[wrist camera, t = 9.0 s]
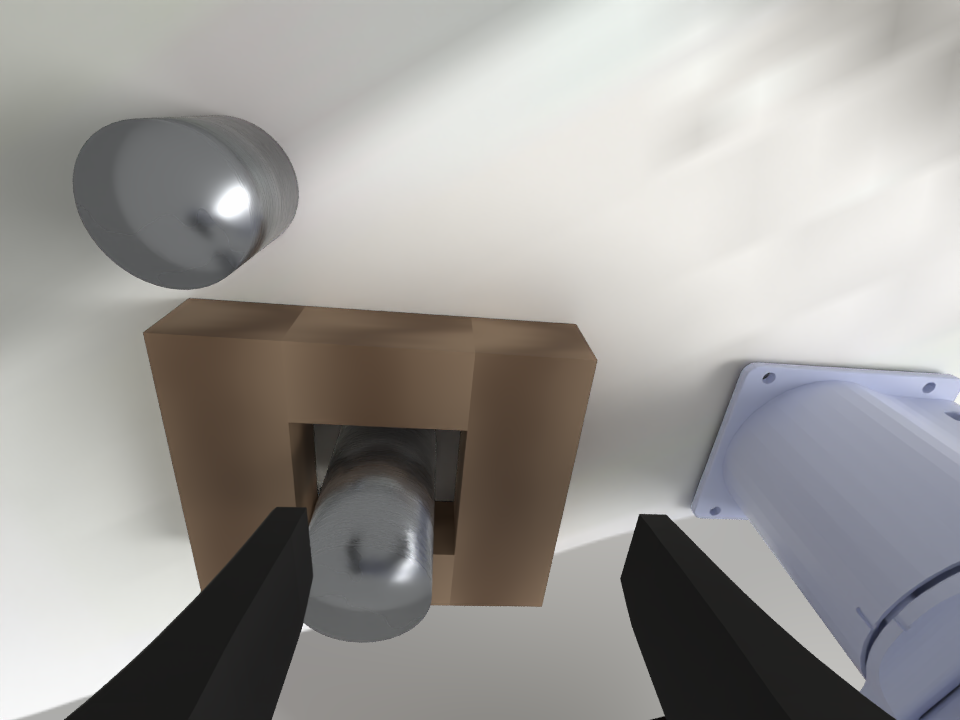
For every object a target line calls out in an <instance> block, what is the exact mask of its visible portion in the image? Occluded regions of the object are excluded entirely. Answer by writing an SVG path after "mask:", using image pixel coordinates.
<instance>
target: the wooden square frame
mask: <svg viewBox="0 0 960 720" xmlns="http://www.w3.org/2000/svg"><path fill="white" fill-rule="evenodd" d="M143 335H144V339H145V344H146V348H147V353H148V357H149V362H150V366H151V370H152V375H153V379H154V384H155V388H156V393H157V397H158V402H159V406H160V410H161V415H162V419H163V424H164V428H165V433H166V437H167V442H168V446H169V450H170V455H171V459H172V464H173V468H174V473H175V477H176V482H177V486H178V490H179V495H180V499H181V504H182V508H183V513H184V517H185V522H186V526H187V530H188V535H189V539H190V544H191V548H192V553H193V557H194V562H195V566H196V570H197V575H198V579H199V584H200V588H201V592H202V591H203V589H204V588H205V587H206V586H207V585H208V584H209V583H210V582H211V581H212V580H213V578H214V577H215V576H216V575H217V574H218V573H219V572H220V571H221V570H222V569H223V568H224V566H225V565H226V564H227V563H228V562H229V561H230V560H231V559H232V557H233V556H234V555H235V554H236V553H237V552H238V551H239V549H240V548H241V547H242V546H243V545H244V544H245V542H246V541H247V540H248V539H249V538H250V537H251V535H252V534H253V533H254V532H255V531H256V529H257V528H258V527H259V526H260V525H261V523H262V522H263V521H264V520H265V518H266V517H267V516H268V515H269V514H270V512H271V511H272V510H273V509H275V508H276V507H307V517H308V527H309V525H310V522H311V519H312V516H313V513H314V510H315V506H316V503H317V500H318V492H317V476H316V461H315V445H314V430H313V424H331V425H353V426H375V427H397V428H419V429H441V430H461V431H460V442H459V452H458V463H457V473H456V484H455V495H454V502H439V501H435V507H434V541H433V575H432V600H431V605H455V606H535V607H541V606H542V603H543V599H544V595H545V590H546V586H547V581H548V577H549V572H550V568H551V564H552V559H553V555H554V550H555V546H556V541H557V537H558V533H559V528H560V524H561V519H562V515H563V510H564V506H565V501H566V497H567V493H568V488H569V484H570V479H571V475H572V470H573V466H574V462H575V457H576V453H577V448H578V444H579V439H580V435H581V431H582V426H583V422H584V417H585V413H586V408H587V404H588V399H589V395H590V391H591V386H592V382H593V377H594V373H595V368H596V364H597V359H596V357H595V355H594V354H593V352H592V350H591V349H590V347H589V345H588V344H587V342H586V340H585V338H584V337H583V335H582V333H581V332H580V330H579V328H578V327H577V325H576V324H563V323H548V322H533V321H518V320H503V319H488V318H474V317H459V316H444V315H429V314H414V313H400V312H385V311H370V310H355V309H340V308H325V307H311V306H296V305H281V304H266V303H251V302H236V301H222V300H207V299H192V298H189V299H187V300H186V301H185V302H183V303H182V304H181V305H179V306H178V307H177V308H175V309H174V310H173V311H171V312H170V313H169V314H167V315H166V316H165V317H163V318H162V319H161V320H159V321H158V322H157V323H155V324H154V325H153V326H151V327H150V328H149V329H147V330H146V331H145V332H143Z"/></svg>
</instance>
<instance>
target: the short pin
mask: <svg viewBox="0 0 960 720" xmlns="http://www.w3.org/2000/svg"><path fill="white" fill-rule="evenodd" d="M73 192H74V198H75V203H76V206H77V209H78V212H79V215H80V217H81V219H82V222H83V224H84V226H85V228H86V229H87V231H88V233H89V234H90V236H91V237H92V239H93V240H94V241H95V243H96V244H97V245H98V247H99V248H100V249H101V250H102V251H103V252H104V253H105V254H106V255H107V256H108V257H109V258H110V259H111V260H112V261H114V262H115V263H116V264H117V265H119V266H120V267H121V268H123V269H124V270H125V271H127V272H129V273H130V274H132V275H134V276H135V277H137V278H140V279H142V280H144V281H146V282H149V283H151V284H154V285H157V286H161V287H165V288H171V289H181V290H190V289H198V288H203V287H207V286H210V285H212V284H215V283H217V282H219V281H221V280H222V279H224V278H226V277H227V276H228V275H229V274H231V273H232V272H233V271H235V270H236V269H237V268H239V267H240V266H241V265H242V264H244V263H245V262H246V261H248V260H249V259H250V258H251V257H253V256H254V255H255V254H257V253H258V252H259V251H261V250H262V249H263V248H264V247H266V246H267V245H268V244H270V243H271V242H272V241H273V240H275V239H276V238H277V237H279V236H280V235H281V234H282V233H283V232H284V231H285V230H286V229H287V228H288V227H289V225H290V224H291V222H292V220H293V218H294V216H295V213H296V210H297V206H298V199H299V190H298V182H297V178H296V174H295V171H294V169H293V166H292V164H291V162H290V160H289V158H288V156H287V155H286V153H285V152H284V150H283V149H282V148H281V147H280V145H279V144H278V143H277V142H276V141H275V140H274V139H273V138H272V137H271V136H270V135H269V134H268V133H266V132H265V131H264V130H262V129H261V128H259V127H257V126H256V125H254V124H252V123H250V122H248V121H245V120H243V119H239V118H236V117H231V116H192V117H167V118H141V119H129V120H122V121H118V122H115V123H112V124H110V125H107V126H105V127H103V128H102V129H100V130H99V131H97V132H96V133H94V134H93V135H92V136H91V137H90V138H89V139H88V140H87V141H86V143H85V144H84V146H83V147H82V149H81V150H80V153H79V155H78V157H77V159H76V163H75V167H74V173H73Z"/></svg>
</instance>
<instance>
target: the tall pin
mask: <svg viewBox="0 0 960 720" xmlns="http://www.w3.org/2000/svg"><path fill="white" fill-rule="evenodd" d="M435 473H436V433H435V430H434V429H419V428H397V427H375V426H353V425H342V427H341V430H340V433H339V436H338V439H337V442H336V445H335V448H334V452H333V455H332V458H331V461H330V464H329V467H328V470H327V473H326V476H325V479H324V482H323V485H322V488H321V491H320V494H319V497H318V500H317V503H316V506H315V510H314V513H313V516H312V519H311V522H310V525H309V537H310V547H311V557H312V567H313V580H312V585H311V590H310V595H309V599H308V604H307V609H306V613H305V617H304V622H303V623H305V624H306V625H307V626H309V627H310V628H312V629H313V630H315V631H317V632H319V633H321V634H323V635H325V636H328V637H331V638H334V639H338V640H343V641H348V642H376V641H382V640H386V639H390V638H394V637H396V636H399V635H401V634H403V633H405V632H407V631H409V630H410V629H412V628H413V627H415V626H416V625H417V624H418V623H419V622H420V621H421V620H422V619H423V618H424V617H425V615H426V614H427V612H428V610H429V608H430V605H431V600H432V575H433V541H434V507H435Z"/></svg>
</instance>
